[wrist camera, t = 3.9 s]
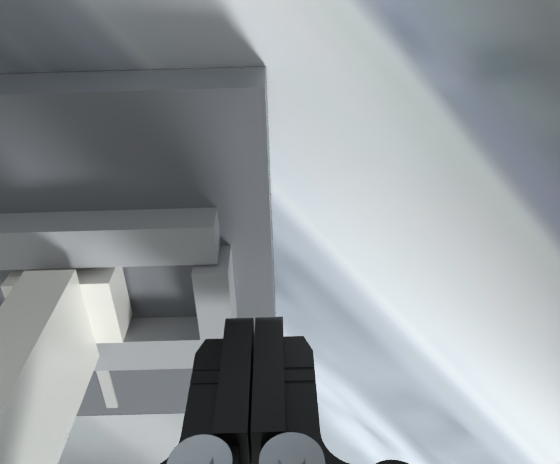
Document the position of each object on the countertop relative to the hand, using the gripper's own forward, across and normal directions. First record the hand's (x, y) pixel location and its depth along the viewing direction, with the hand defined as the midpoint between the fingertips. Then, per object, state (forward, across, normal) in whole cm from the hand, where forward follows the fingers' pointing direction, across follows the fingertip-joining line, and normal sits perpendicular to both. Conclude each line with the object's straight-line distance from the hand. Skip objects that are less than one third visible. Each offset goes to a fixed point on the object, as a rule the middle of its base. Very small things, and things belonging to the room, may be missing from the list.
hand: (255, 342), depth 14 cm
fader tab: (+3, +6, 0) cm, 6 cm away
